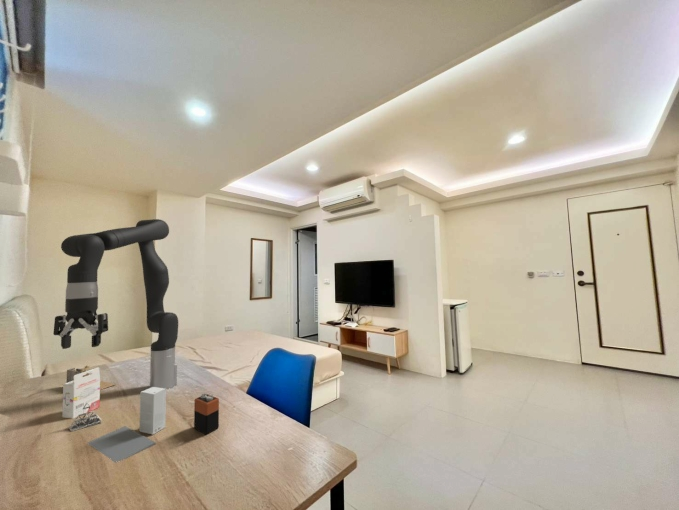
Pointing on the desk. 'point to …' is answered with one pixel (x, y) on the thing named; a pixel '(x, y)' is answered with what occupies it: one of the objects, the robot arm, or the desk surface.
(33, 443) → the desk surface
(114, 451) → the mat
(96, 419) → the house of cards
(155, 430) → the skincare box
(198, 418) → the battery
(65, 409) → the ink cartridge box
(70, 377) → the ruin model on sheet
